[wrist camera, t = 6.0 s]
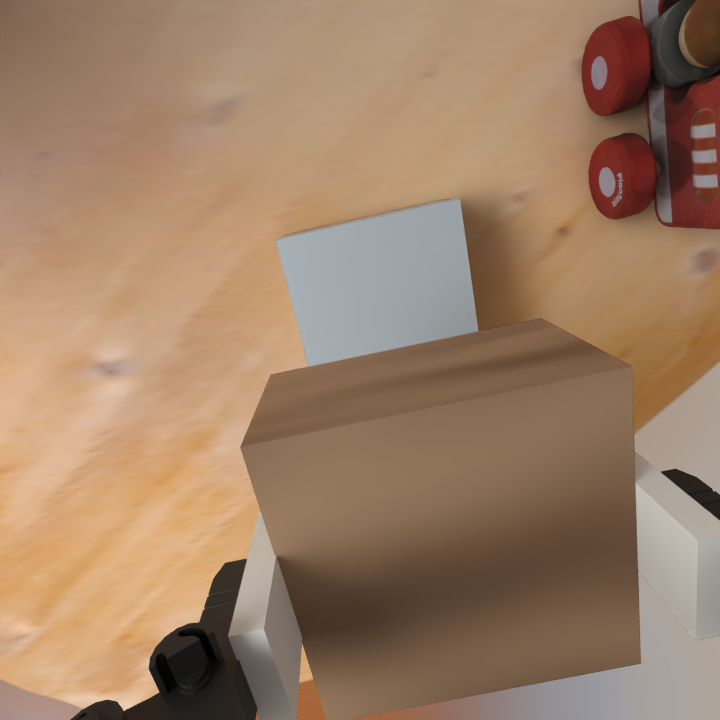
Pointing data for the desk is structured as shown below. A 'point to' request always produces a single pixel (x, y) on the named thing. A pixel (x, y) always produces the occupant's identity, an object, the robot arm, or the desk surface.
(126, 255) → the desk surface
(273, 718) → the robot arm
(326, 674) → the walnut block
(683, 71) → the toy fire truck
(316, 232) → the plinth
